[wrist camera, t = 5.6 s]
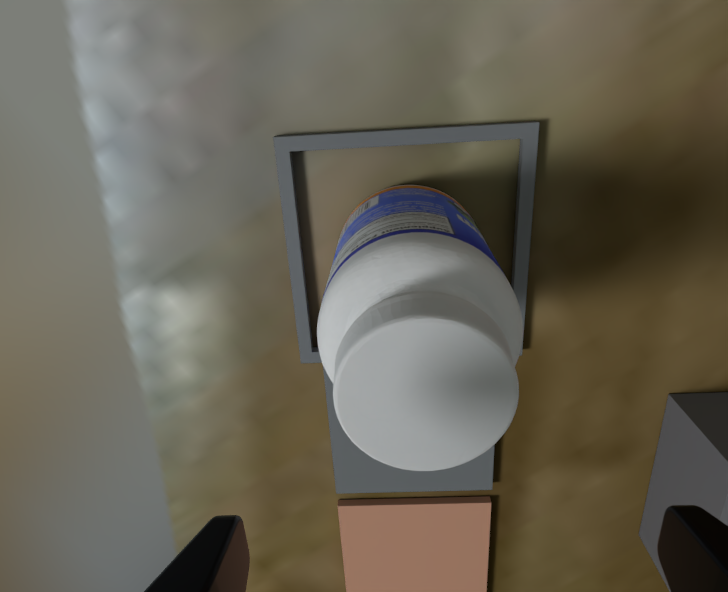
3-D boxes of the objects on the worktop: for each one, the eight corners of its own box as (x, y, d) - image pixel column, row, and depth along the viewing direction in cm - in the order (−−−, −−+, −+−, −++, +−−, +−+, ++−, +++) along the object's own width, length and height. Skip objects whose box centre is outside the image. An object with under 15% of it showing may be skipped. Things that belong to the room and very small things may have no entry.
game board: (536, 121, 18) (539, 122, 18) (494, 690, 31) (496, 698, 31) (275, 136, 18) (273, 137, 18) (342, 691, 31) (342, 699, 31)
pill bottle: (488, 300, 21) (571, 478, 12) (355, 327, 21) (339, 516, 12) (466, 164, 19) (546, 257, 10) (319, 199, 19) (268, 316, 10)
